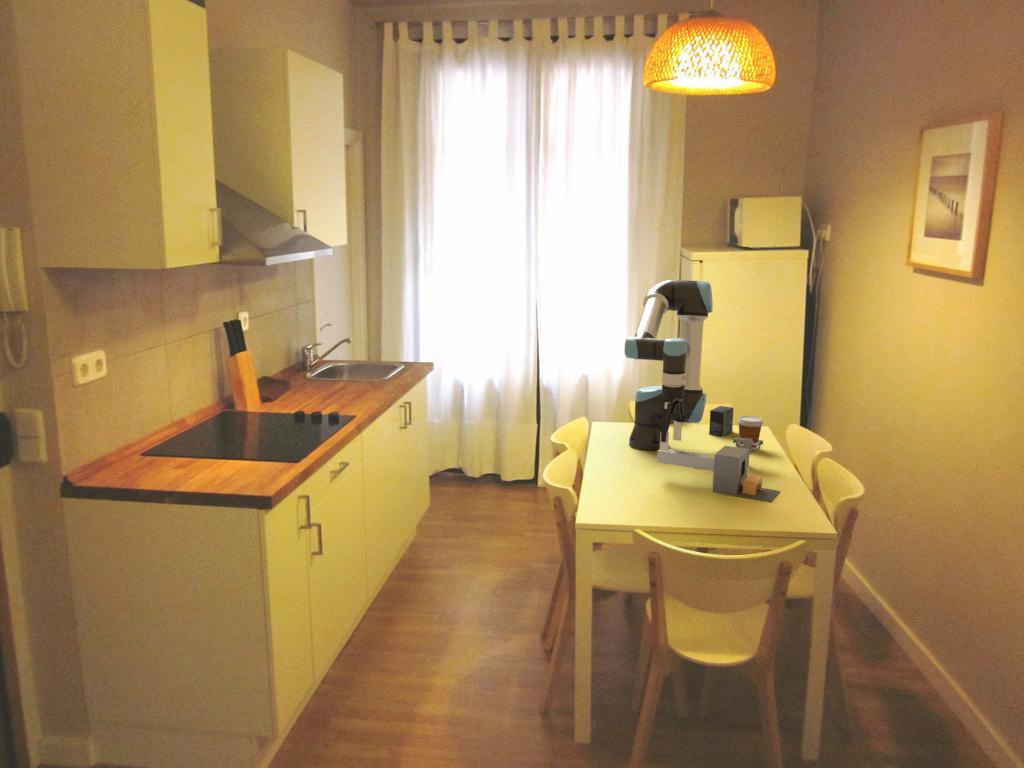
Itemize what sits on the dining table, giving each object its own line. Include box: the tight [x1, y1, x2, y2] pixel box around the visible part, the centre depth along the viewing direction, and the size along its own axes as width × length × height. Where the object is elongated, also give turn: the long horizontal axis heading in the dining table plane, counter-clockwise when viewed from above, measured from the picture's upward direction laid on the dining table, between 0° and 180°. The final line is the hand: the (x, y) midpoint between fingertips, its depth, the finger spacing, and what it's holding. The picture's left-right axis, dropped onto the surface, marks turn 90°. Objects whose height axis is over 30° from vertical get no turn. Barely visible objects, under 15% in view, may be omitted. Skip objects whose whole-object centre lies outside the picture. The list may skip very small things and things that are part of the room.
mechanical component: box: [732, 436, 764, 466], centre depth 306 cm, size 3×10×10 cm, turn 78°
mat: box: [737, 487, 781, 503], centre depth 276 cm, size 12×12×1 cm
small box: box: [708, 405, 734, 437], centre depth 351 cm, size 11×6×10 cm, turn 144°
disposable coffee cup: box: [737, 415, 764, 452], centre depth 328 cm, size 10×10×12 cm
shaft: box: [656, 448, 715, 472], centre depth 285 cm, size 26×4×4 cm, turn 61°
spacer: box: [743, 474, 764, 495], centre depth 278 cm, size 4×7×4 cm, turn 145°
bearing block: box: [712, 445, 749, 498], centre depth 280 cm, size 8×12×13 cm, turn 151°
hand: (670, 445), depth 289 cm, fingers open, 13 cm apart
